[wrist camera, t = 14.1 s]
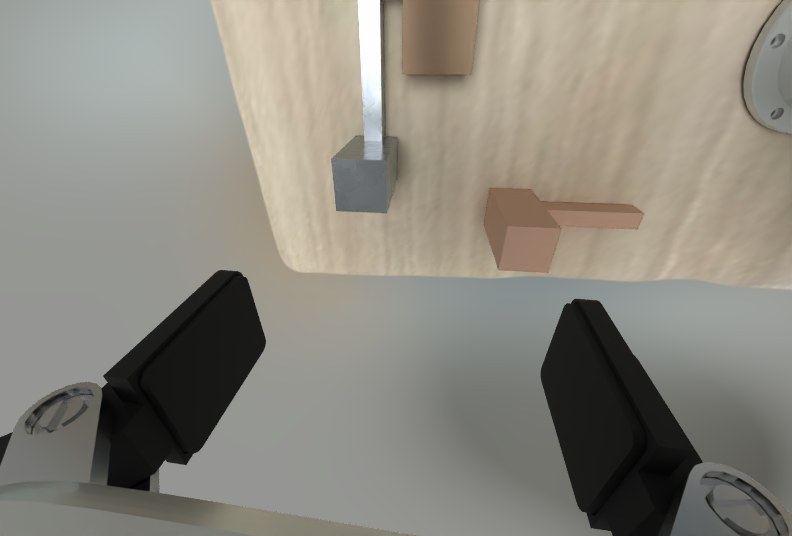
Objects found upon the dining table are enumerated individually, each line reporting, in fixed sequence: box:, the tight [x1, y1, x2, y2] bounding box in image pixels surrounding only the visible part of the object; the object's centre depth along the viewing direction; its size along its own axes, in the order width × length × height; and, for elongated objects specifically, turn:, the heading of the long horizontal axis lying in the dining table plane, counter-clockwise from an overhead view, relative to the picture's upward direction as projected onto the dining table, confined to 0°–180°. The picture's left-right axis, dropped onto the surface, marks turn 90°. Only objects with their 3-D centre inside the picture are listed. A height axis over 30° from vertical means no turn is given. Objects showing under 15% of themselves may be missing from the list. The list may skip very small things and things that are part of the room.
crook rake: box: [331, 0, 398, 213], centre depth 25 cm, size 16×10×9 cm, turn 0°
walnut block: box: [402, 0, 479, 75], centre depth 24 cm, size 5×5×5 cm
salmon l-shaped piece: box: [484, 188, 644, 273], centre depth 29 cm, size 14×4×9 cm, turn 90°
